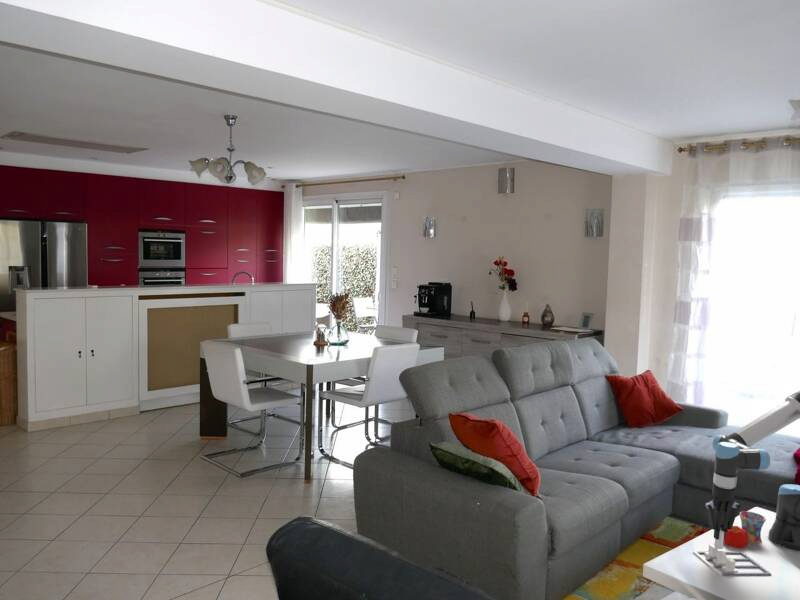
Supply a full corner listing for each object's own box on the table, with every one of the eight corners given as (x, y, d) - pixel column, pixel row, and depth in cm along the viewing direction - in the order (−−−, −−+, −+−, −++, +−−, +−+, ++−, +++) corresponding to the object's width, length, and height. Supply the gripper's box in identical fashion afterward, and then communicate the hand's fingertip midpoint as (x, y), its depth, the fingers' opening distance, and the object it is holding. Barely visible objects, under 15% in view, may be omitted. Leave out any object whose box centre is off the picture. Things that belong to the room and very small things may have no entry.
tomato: (733, 540, 254) (735, 522, 253) (752, 551, 245) (754, 532, 245) (715, 543, 250) (717, 524, 250) (734, 553, 242) (736, 534, 241)
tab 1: (714, 554, 237) (715, 543, 236) (720, 559, 233) (721, 548, 233) (704, 554, 236) (705, 543, 236) (709, 559, 233) (711, 548, 233)
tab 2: (723, 561, 232) (724, 550, 231) (728, 566, 228) (730, 555, 228) (712, 561, 231) (714, 550, 231) (718, 566, 228) (719, 555, 228)
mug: (756, 549, 247) (759, 523, 246) (732, 539, 254) (734, 513, 253) (770, 542, 254) (773, 516, 253) (746, 533, 261) (749, 508, 260)
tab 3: (731, 568, 227) (733, 557, 226) (737, 573, 224) (739, 562, 223) (721, 568, 226) (722, 557, 226) (727, 573, 223) (728, 562, 223)
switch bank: (742, 556, 240) (742, 551, 239) (771, 579, 224) (772, 573, 224) (692, 556, 237) (692, 551, 237) (718, 579, 221) (719, 573, 221)
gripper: (734, 481, 237) (728, 542, 239) (701, 481, 236) (696, 542, 238) (747, 489, 230) (741, 552, 232) (713, 489, 228) (708, 552, 230)
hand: (718, 547), depth 235 cm, fingers closed
